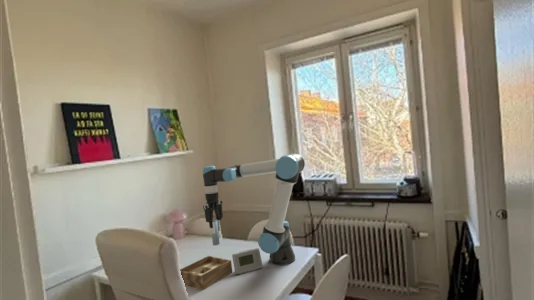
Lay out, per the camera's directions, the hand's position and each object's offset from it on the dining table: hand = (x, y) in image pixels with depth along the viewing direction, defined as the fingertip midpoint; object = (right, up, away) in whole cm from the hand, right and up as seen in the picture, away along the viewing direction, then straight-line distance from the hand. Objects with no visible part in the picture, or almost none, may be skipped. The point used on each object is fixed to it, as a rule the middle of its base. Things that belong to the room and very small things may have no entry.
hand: (216, 231), depth 189 cm
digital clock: (+20, -19, -9) cm, 29 cm away
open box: (-3, -21, -14) cm, 26 cm away
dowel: (0, -7, +1) cm, 7 cm away
